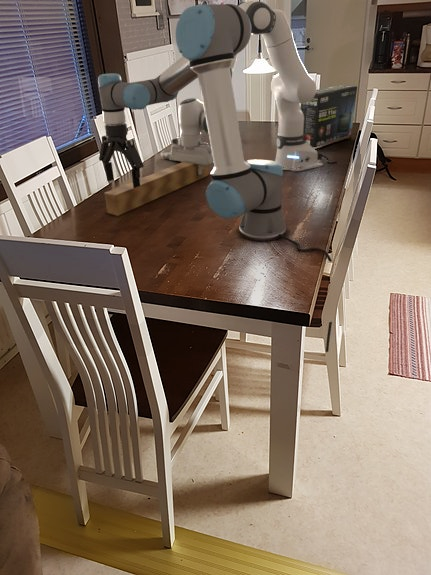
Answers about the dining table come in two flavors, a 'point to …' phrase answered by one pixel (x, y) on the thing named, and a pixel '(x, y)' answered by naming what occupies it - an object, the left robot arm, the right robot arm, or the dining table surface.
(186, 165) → the post
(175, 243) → the dining table surface
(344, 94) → the router box
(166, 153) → the fossil
